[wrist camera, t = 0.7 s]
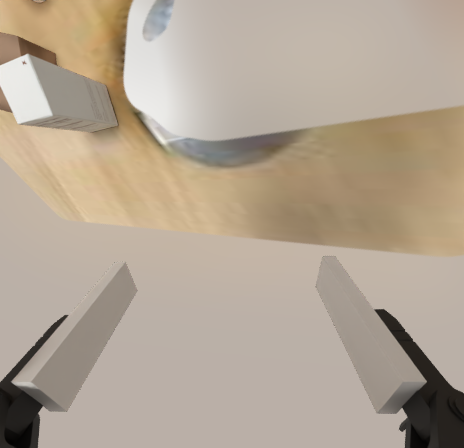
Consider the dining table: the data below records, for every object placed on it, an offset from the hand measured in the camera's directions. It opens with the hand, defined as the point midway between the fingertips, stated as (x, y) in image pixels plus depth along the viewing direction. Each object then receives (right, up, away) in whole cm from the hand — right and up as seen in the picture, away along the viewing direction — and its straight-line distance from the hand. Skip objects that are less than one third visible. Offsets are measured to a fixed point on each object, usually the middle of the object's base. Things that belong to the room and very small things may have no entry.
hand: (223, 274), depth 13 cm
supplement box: (-26, +27, +25) cm, 45 cm away
